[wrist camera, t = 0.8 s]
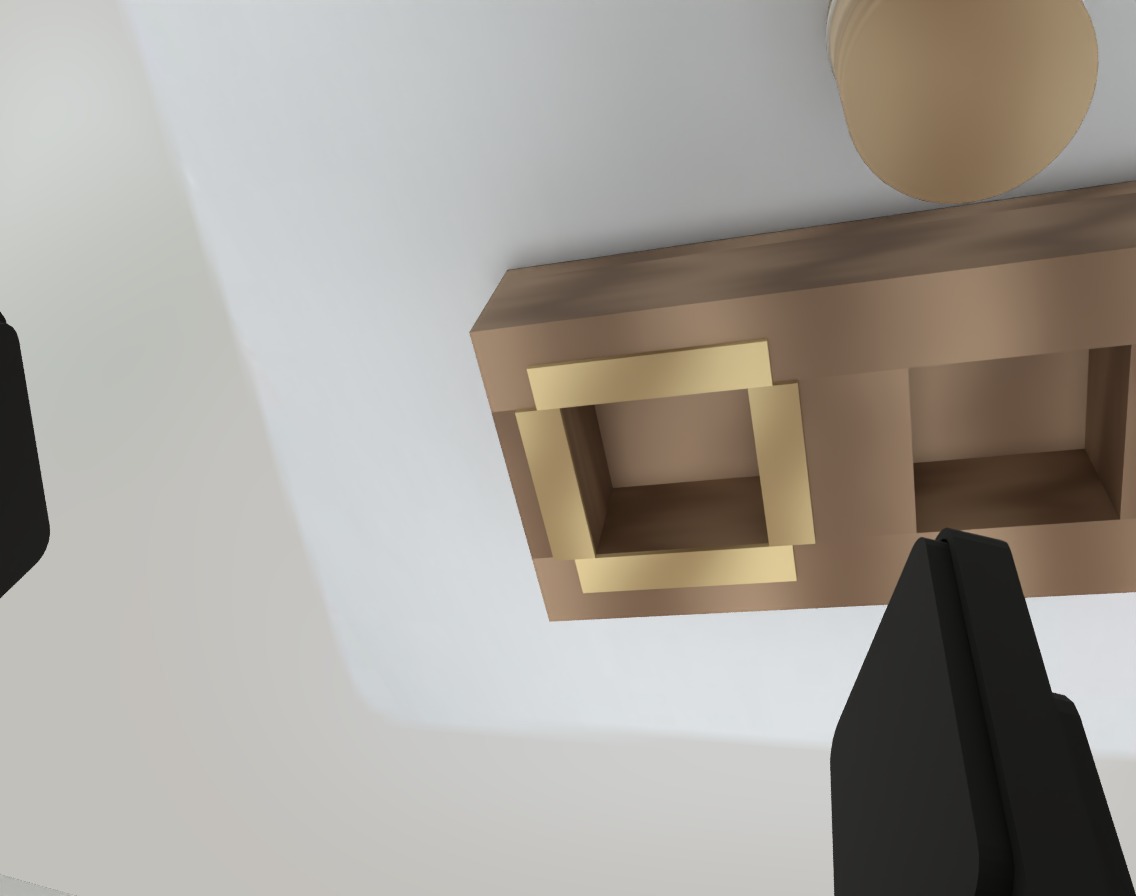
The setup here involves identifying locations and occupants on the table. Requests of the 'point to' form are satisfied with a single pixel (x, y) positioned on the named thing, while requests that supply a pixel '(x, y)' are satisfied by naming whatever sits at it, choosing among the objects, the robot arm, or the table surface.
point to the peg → (961, 89)
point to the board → (824, 407)
